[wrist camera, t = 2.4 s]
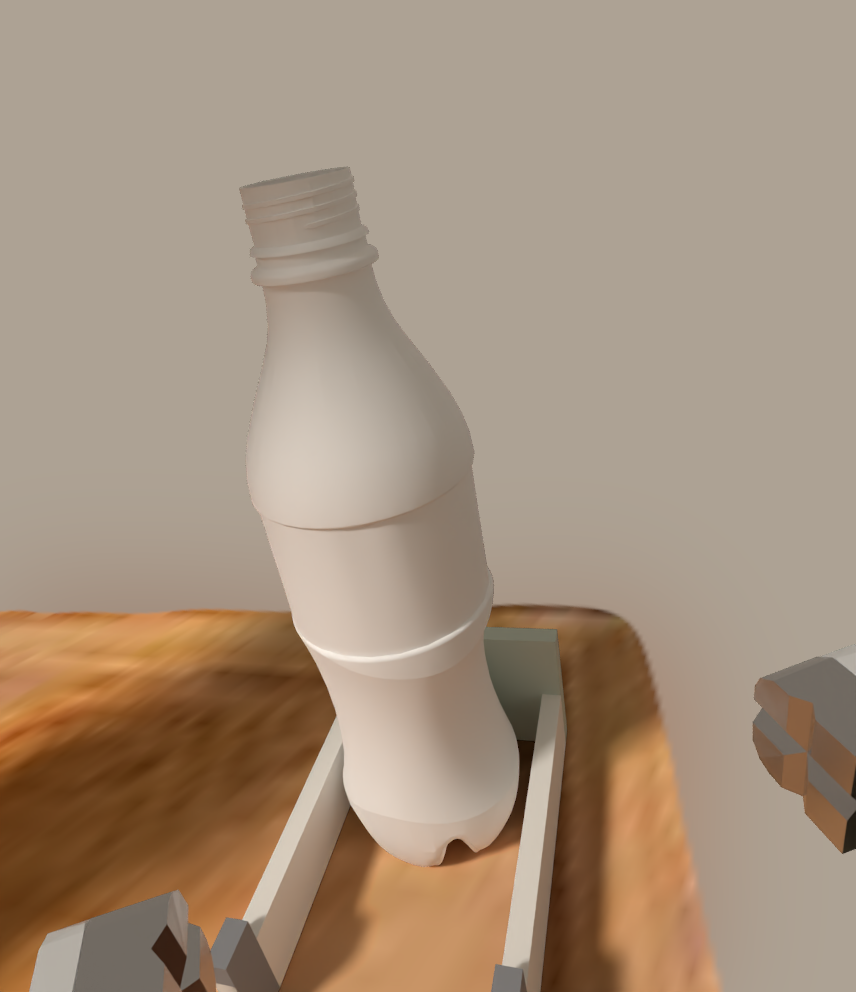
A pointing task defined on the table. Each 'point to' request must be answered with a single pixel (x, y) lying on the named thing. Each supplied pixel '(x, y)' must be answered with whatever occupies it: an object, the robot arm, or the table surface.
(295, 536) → the water bottle
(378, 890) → the table surface
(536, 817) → the bay
